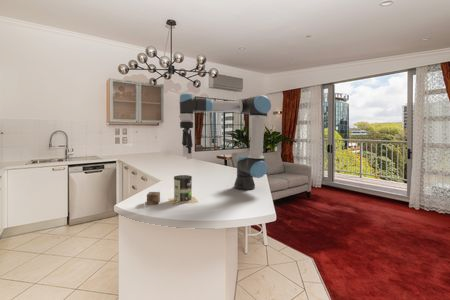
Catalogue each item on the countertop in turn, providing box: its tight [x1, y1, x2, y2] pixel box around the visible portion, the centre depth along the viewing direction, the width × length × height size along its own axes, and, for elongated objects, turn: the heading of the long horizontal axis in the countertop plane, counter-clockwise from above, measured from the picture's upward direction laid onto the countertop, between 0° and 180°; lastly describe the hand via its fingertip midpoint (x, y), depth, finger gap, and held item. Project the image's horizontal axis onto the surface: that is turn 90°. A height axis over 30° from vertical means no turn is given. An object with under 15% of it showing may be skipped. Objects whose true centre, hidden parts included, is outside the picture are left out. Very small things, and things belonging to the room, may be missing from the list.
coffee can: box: [173, 174, 193, 203], centre depth 138 cm, size 10×10×14 cm
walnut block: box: [146, 191, 161, 206], centre depth 132 cm, size 6×6×6 cm
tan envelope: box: [168, 196, 199, 206], centre depth 138 cm, size 16×12×1 cm
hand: (187, 157), depth 139 cm, fingers open, 13 cm apart
